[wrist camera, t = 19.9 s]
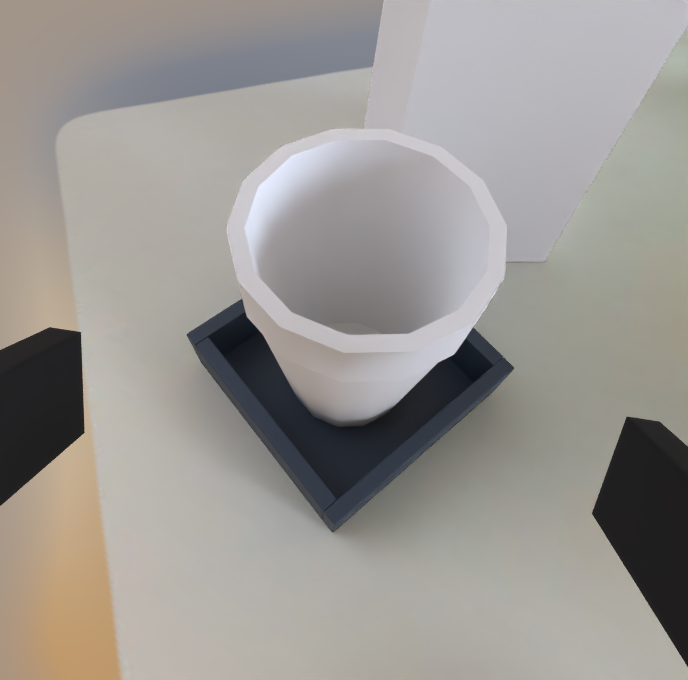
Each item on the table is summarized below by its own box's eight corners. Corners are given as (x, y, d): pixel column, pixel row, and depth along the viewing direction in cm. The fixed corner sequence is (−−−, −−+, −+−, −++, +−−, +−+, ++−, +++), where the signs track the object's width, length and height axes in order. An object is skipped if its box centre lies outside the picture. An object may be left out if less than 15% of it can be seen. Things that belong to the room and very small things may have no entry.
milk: (363, 130, 38) (439, -603, 14) (511, 132, 38) (812, -564, 15) (373, 261, 32) (517, -559, 9) (544, 261, 33) (1085, -502, 10)
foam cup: (462, 383, 28) (565, 245, 17) (341, 493, 25) (362, 417, 14) (352, 275, 31) (374, 93, 20) (231, 363, 28) (171, 208, 17)
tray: (493, 391, 29) (515, 367, 26) (332, 533, 25) (334, 525, 22) (358, 255, 33) (362, 220, 29) (200, 361, 29) (186, 333, 26)
